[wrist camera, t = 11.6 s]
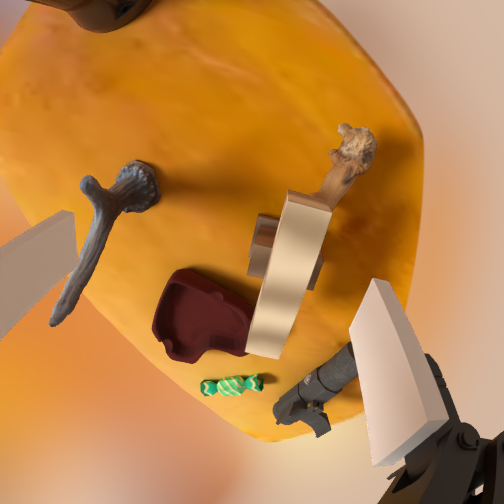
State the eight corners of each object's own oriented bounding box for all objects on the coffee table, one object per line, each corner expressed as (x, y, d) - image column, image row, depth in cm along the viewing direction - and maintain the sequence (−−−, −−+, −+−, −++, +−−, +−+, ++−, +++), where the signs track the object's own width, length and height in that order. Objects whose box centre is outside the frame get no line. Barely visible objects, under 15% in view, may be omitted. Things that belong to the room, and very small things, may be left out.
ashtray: (233, 247, 41) (226, 262, 36) (270, 333, 46) (268, 353, 42) (138, 277, 45) (125, 292, 41) (181, 349, 51) (173, 367, 46)
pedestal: (258, 213, 38) (251, 234, 31) (322, 230, 38) (330, 254, 31) (249, 253, 41) (240, 280, 33) (310, 268, 40) (314, 298, 33)
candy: (256, 371, 49) (258, 392, 47) (262, 373, 52) (264, 393, 50) (200, 377, 52) (200, 396, 50) (208, 379, 55) (209, 397, 53)
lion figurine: (333, 118, 32) (347, 114, 24) (369, 137, 32) (393, 139, 24) (287, 217, 38) (286, 242, 30) (322, 233, 38) (331, 262, 30)
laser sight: (374, 351, 46) (385, 393, 37) (300, 410, 55) (299, 447, 46) (335, 330, 45) (343, 374, 36) (263, 396, 54) (258, 434, 45)
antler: (112, 173, 38) (-23, 231, 15) (151, 148, 36) (5, 189, 13) (145, 239, 42) (37, 340, 19) (186, 220, 40) (79, 328, 17)
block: (287, 189, 28) (287, 201, 24) (325, 199, 28) (332, 213, 24) (250, 325, 36) (244, 352, 31) (280, 332, 36) (278, 359, 31)
